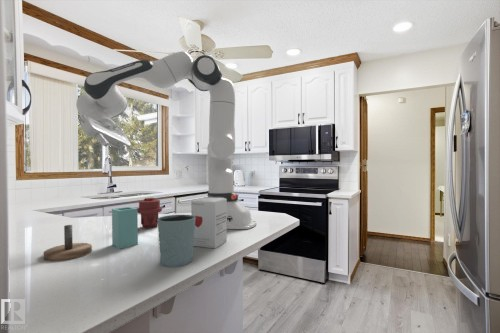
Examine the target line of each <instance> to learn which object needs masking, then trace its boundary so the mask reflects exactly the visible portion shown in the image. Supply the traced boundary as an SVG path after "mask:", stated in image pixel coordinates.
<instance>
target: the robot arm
mask: <svg viewBox="0 0 500 333" xmlns="http://www.w3.org/2000/svg"><path fill="white" fill-rule="evenodd" d="M137 78H138V79H143V80H144V81H147V82H149V84H151V85H153V86H155V87H157V88H160V89H166V88H170V87H172V86H174V85H176V84H177V83H179V82H181V81H183V80H186V79H187V81H188V83H190V84H192V86H194V87H195V88H196V89H197V90H199V91H200V92H209V95H210V96H209V97H210V98H209V122H208V125H209V126H208V127H209V128H208V131H209V132H208V133H209V134H208V135H209V136H208V145H207V147H206V149H207V151H206V152H207V172H208V174H207V176H208V178H207V179H208V180H207V181H208V182H207V183H208V192H207V196H206V197H207V198H226V199H227V230H248V229H253V228H254V227H255V226H257V220H255V219H253V218H252V214H251V211H250V209H249V208H248V207H247V206H246V205H244V204H243V203H241V201H239V193H236V192H235V191H234V189H235V188H234V183H235V182H234V169H233V167H234V166H233V160H232V157H233V155H234V154H235V152H236V129H235V117H236V115H235V114H236V112H235V111H236V95H235V94H236V93H235V87H234V84H233V81H231V80H229V79H227V78H223V73H222V71H221V69H220V67H219V65H218V62H217V60H215V58H214V57H213V56H210V55H208V54H204V55H199V56H198V57H197V58H196V59H195V60H194V59H193V58H192V56H191V55H190V54H189V53H188V52H186V51H184V50H183V51H177V52H174V53H170V54H168V55H166V56H164V57H162V58H160V59H157V60H150V61H149V60H148V59H139V60H135V61H132V62H130V63H126V64H122V65H119V66H117V67H114V68H111V69H107V70H102V71H96V72H92V73H90V74H88V75H87V76H86V78H85V80H84V84H83V90H84V92H85V93H84V94H81V95H80V96H79V97H78V98H77V99H76V105H75V106H76V109H77V112H78V114H79V116H78V118H79V120H80V127H81V129H82V131H83V133H84V134H85V135H88V136H89V137H91V138H94V139H96V140H97V141H98V142H99V143H100V144H101V145H102V146H103V147H106V148H107V147H108V146H112V147H114V148H117V149H119V150H120V154H122V155H124V156H126V155H127V154H128V153H129V151H128V150H129V149H130V148H131V147H132V143H131V142H130V139H128V137H127V136H126V134H125V133H124V129H123V127H121V126H120V125H118V124H117V123H116V122H115V121H114V120H113V119H114V118H116V117H118V116H119V115H122V114H123V113H124V112H126V109H127V108H128V100H127V98H126V97H125V96H124V94H123V93H122V91H120V89H119V88H118V86H117V85H120V84H121V83H125V82H127V81H130V80H133V79H137Z"/></svg>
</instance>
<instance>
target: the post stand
mask: <svg viewBox="0 0 500 333" xmlns="http://www.w3.org/2000/svg"><path fill="white" fill-rule="evenodd" d="M63 229H64V230H63V231H64V232H63V233H64V241H63V242H64V244H62V245H57V246H52V247H50V248H48V249H45V251H43V259H44V260H45V261H48V260H50V261H49V262H56V261H57V262H59V261H68V260H73V259H78V258H81V257H83V256H86V255H89V254H90V253H92V251H93V249H92V248H93V246H92V244H91V243H87V242H74V243H73V224H67V225H66V224H65V225H64V226H63Z"/></svg>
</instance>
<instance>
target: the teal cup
mask: <svg viewBox="0 0 500 333" xmlns="http://www.w3.org/2000/svg"><path fill="white" fill-rule="evenodd" d="M195 219H196V217H195V216H192V214H171V215H163V216H159V217H158V219H157V222H158V227H157V230H158V231H157V232H158V242H159V252H160V254H159V256H160V257H159V258H160V263H161V265H162V266H163V267H168V268H176V267H183V266H187V265H189V264H191V263H192V262H193V259H194V247H195V246H194V228H195Z"/></svg>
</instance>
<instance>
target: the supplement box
mask: <svg viewBox="0 0 500 333" xmlns="http://www.w3.org/2000/svg"><path fill="white" fill-rule="evenodd" d="M207 197H208V196H205V197H200V198H197V199H192V200H191V206H190V208H191V213H190V215H192V216H195V217H196V219H195V228H194V246H193V247H200V248H206V249H207V248H208V249H217V248H218V247H220V246H221V245H223V244H224V243H226V242H227V237H228V236H227V230H228V229H227V199H226V198H207Z"/></svg>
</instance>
